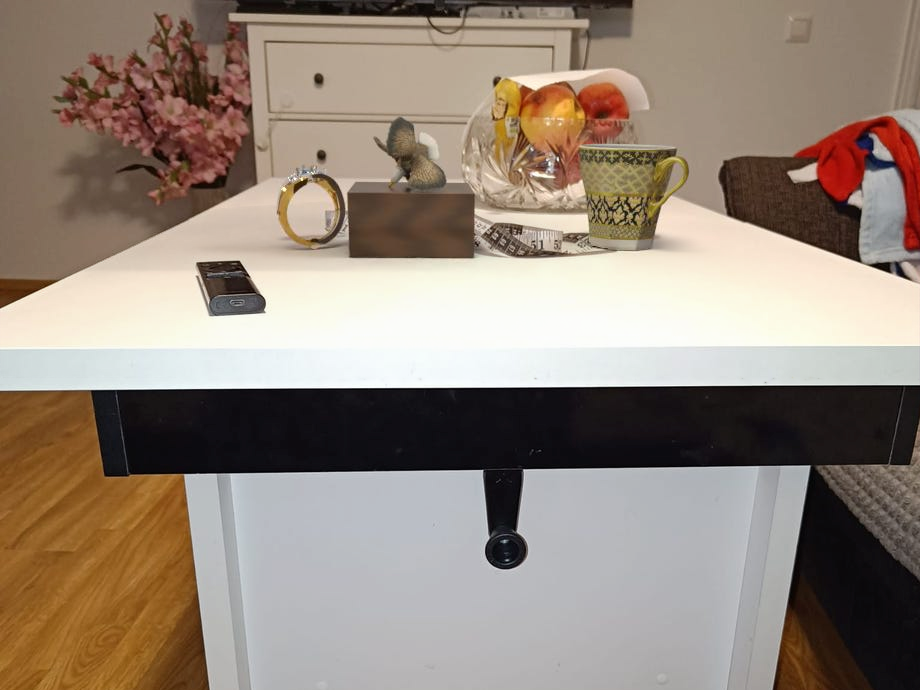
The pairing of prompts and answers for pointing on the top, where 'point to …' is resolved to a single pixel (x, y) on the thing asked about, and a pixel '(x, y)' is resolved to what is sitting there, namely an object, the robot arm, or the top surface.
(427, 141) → the eagle figurine
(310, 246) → the ring
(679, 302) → the top surface
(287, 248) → the top surface
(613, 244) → the ceramic cup
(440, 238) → the walnut block
